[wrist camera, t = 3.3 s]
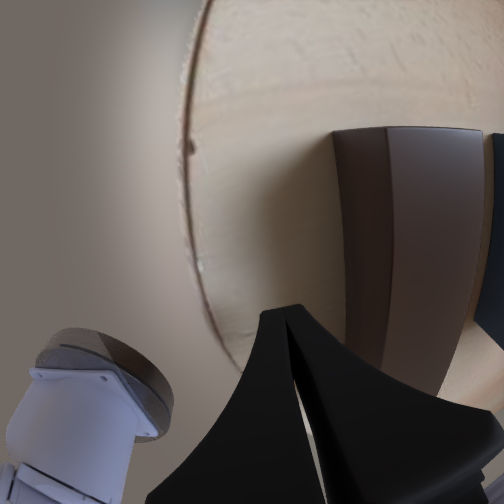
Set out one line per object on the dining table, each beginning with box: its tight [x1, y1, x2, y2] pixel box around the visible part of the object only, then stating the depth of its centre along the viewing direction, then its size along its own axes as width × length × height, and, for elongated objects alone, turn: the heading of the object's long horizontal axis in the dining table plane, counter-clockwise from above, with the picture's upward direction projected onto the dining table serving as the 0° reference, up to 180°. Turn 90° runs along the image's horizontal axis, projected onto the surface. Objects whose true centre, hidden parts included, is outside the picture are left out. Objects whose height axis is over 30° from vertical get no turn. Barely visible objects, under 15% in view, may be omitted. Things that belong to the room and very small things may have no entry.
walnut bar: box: [332, 126, 485, 397], centre depth 10 cm, size 4×12×4 cm, turn 10°
